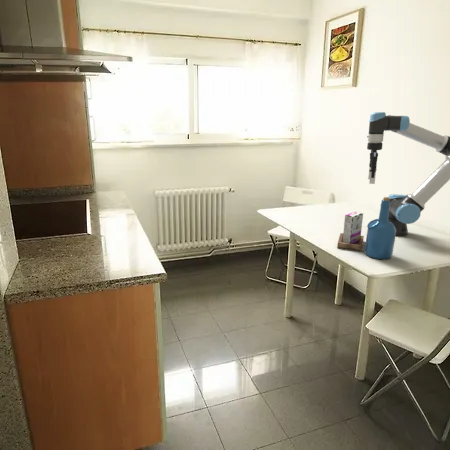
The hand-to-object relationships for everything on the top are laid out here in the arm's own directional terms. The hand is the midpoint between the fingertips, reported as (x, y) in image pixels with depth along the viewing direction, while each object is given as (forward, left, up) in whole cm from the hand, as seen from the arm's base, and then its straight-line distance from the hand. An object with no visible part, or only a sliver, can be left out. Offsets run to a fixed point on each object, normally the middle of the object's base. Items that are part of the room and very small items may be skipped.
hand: (371, 181), depth 210 cm
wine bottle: (-7, +28, -33) cm, 43 cm away
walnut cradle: (+7, +16, -33) cm, 37 cm away
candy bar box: (+6, +16, -32) cm, 36 cm away
